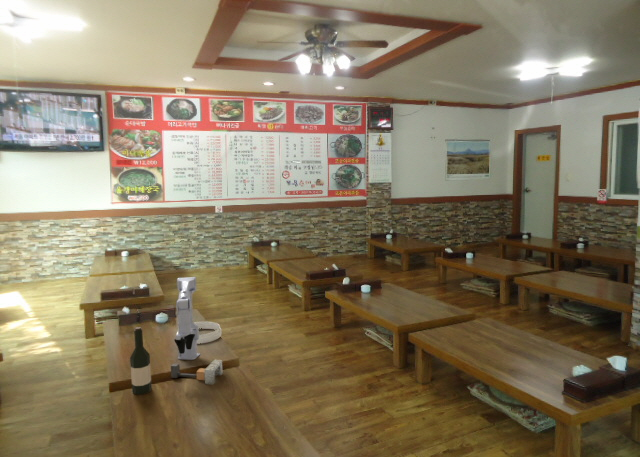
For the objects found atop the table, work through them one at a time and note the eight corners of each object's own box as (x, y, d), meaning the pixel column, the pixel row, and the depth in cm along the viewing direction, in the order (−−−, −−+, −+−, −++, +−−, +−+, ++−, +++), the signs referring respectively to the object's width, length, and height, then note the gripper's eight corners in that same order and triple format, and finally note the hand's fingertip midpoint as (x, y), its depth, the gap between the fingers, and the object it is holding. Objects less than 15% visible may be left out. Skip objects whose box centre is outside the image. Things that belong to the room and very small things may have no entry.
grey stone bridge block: (205, 384, 214) (204, 369, 213) (214, 373, 226) (214, 359, 225) (213, 384, 213) (212, 370, 213) (222, 373, 225) (221, 360, 224)
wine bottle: (155, 387, 211) (151, 325, 208) (143, 396, 203) (139, 331, 200) (141, 385, 214) (137, 324, 210) (128, 393, 206) (123, 330, 202)
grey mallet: (170, 378, 221) (170, 366, 220) (174, 374, 225) (174, 363, 224) (207, 380, 218) (206, 368, 217) (210, 376, 222) (209, 364, 221)
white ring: (202, 326, 298) (202, 318, 298) (230, 334, 283) (230, 325, 282) (167, 338, 277) (167, 330, 276) (196, 347, 261) (195, 338, 260)
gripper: (185, 326, 213) (186, 355, 213) (198, 320, 227) (199, 347, 227) (171, 326, 214) (172, 355, 214) (185, 320, 228) (186, 347, 228)
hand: (185, 351), depth 220 cm, fingers open, 7 cm apart
